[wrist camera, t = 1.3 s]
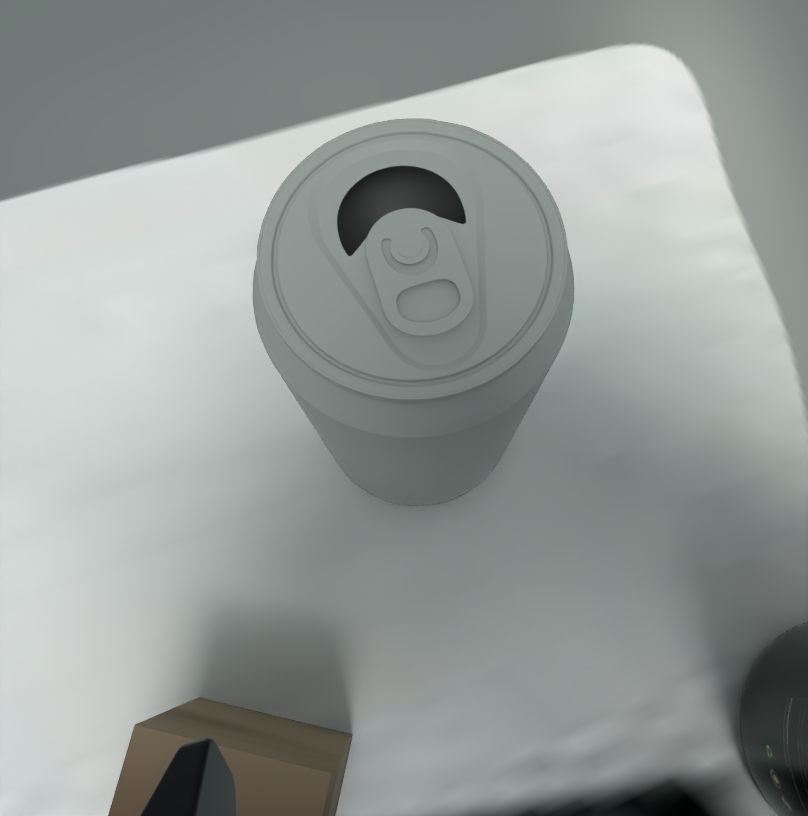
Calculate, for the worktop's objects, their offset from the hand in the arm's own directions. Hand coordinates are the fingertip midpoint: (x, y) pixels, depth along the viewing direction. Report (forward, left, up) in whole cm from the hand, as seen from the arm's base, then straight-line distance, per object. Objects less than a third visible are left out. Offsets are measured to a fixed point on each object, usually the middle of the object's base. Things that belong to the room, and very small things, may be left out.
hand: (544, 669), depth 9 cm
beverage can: (+5, +5, -13) cm, 15 cm away
